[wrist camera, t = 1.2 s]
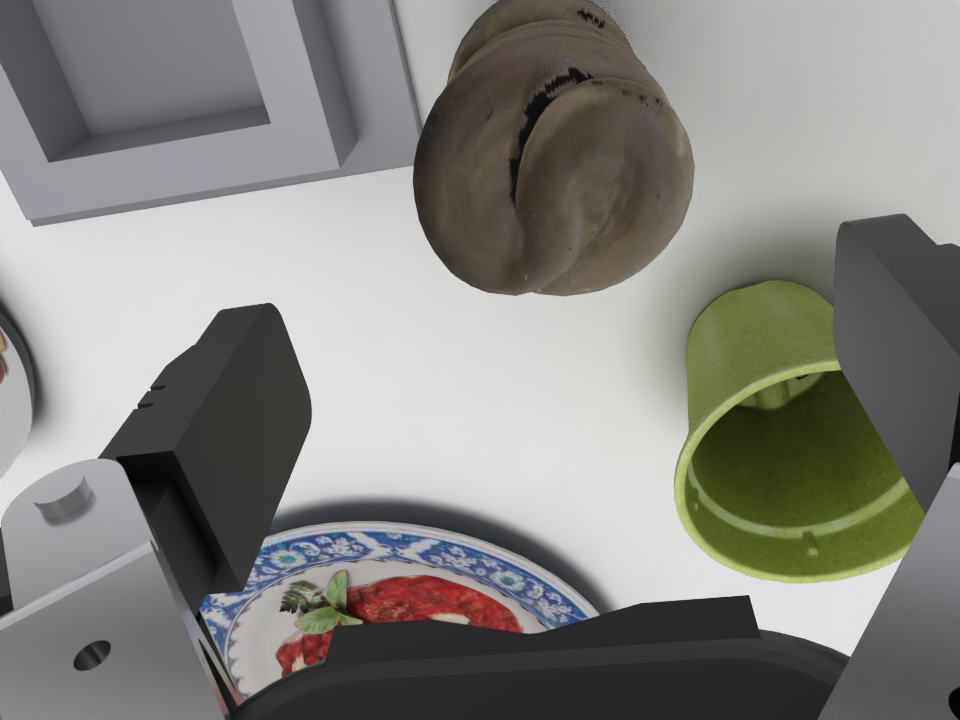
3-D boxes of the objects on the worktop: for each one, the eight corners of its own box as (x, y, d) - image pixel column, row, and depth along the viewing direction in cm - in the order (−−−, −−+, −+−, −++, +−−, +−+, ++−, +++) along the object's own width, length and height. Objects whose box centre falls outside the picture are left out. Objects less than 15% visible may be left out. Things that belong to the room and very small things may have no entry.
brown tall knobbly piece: (631, -52, 26) (710, 43, 13) (634, 119, 28) (702, 333, 16) (457, -29, 26) (372, 81, 14) (478, 135, 29) (423, 352, 17)
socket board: (318, -325, 22) (280, -354, 19) (427, 156, 30) (412, 192, 26) (-164, -195, 25) (-269, -201, 22) (44, 219, 32) (-12, 259, 29)
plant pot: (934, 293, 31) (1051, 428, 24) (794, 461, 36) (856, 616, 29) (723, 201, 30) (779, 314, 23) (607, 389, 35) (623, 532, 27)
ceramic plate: (666, 765, 50) (672, 813, 47) (293, 801, 55) (281, 846, 53) (569, 451, 37) (570, 494, 35) (97, 539, 43) (69, 582, 40)
